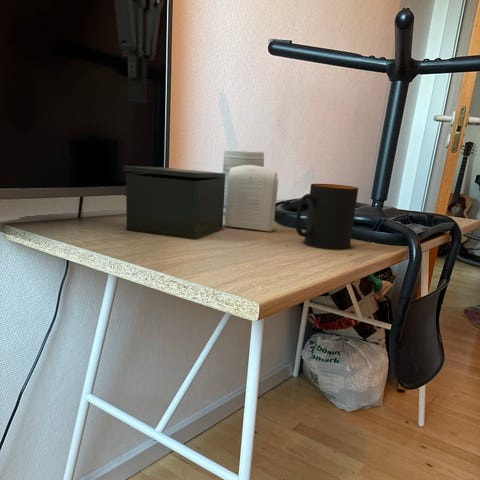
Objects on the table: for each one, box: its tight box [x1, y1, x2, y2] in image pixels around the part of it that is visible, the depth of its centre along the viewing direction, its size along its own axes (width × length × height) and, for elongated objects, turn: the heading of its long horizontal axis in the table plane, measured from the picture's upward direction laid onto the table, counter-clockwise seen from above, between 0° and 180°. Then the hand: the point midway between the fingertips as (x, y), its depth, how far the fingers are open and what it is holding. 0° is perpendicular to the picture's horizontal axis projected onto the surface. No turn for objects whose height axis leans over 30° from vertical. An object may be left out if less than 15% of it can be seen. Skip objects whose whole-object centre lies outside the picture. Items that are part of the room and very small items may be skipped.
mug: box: [295, 183, 359, 250], centre depth 86 cm, size 8×12×10 cm
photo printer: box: [224, 165, 279, 233], centre depth 97 cm, size 10×4×12 cm, turn 75°
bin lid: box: [123, 165, 226, 178], centre depth 89 cm, size 14×14×1 cm
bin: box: [125, 172, 225, 240], centre depth 91 cm, size 14×14×10 cm
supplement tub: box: [222, 149, 265, 215], centre depth 115 cm, size 10×10×15 cm
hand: (137, 101), depth 82 cm, fingers closed
